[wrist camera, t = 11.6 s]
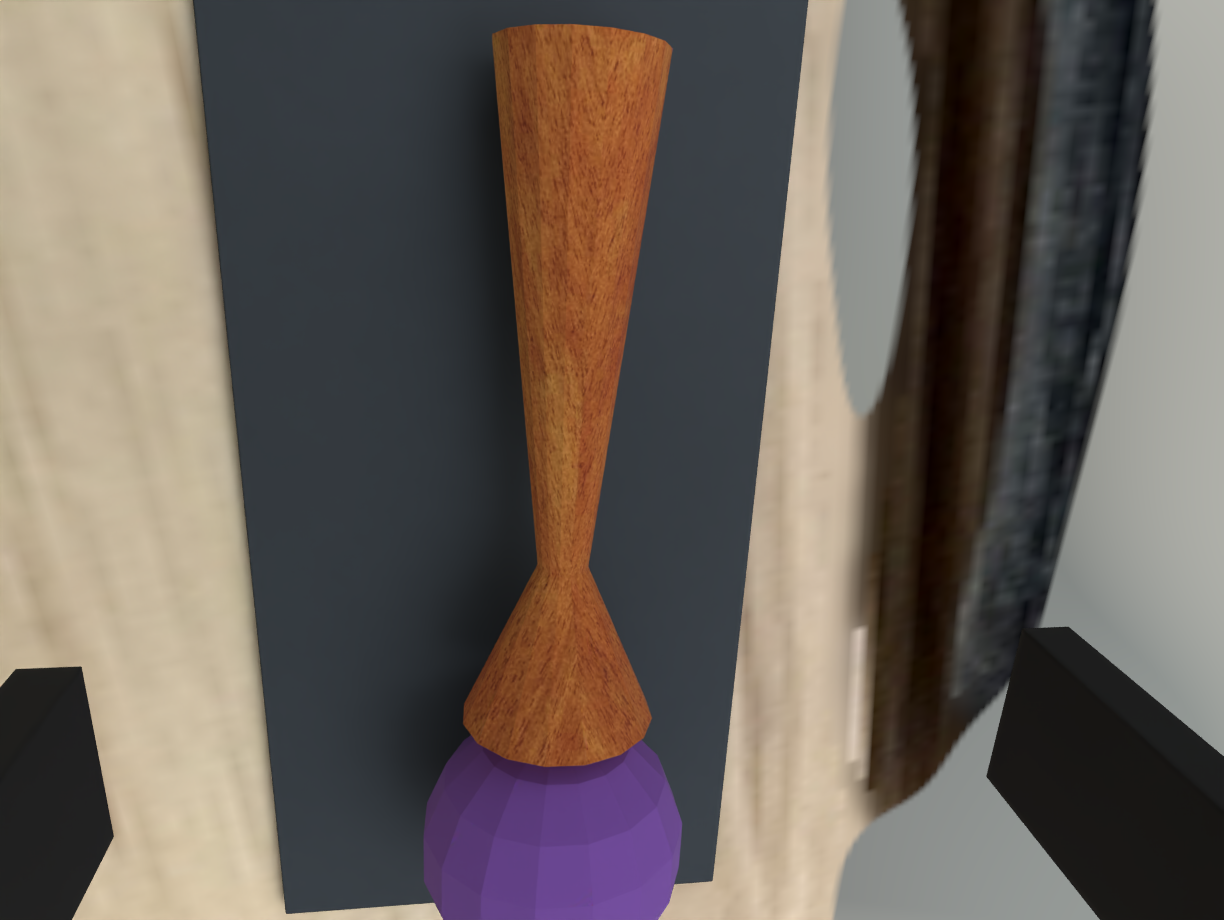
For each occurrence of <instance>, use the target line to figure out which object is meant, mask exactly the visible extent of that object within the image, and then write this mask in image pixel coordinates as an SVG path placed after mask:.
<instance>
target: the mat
mask: <svg viewBox="0 0 1224 920" xmlns="http://www.w3.org/2000/svg"><path fill="white" fill-rule="evenodd" d="M193 4H194V14H195V24H196V34H197V43H198V53H199V63H200V73H201V83H202V93H203V102H204V112H205V122H206V132H207V142H208V152H209V162H210V171H211V181H212V191H213V201H214V211H215V221H216V231H217V240H218V250H219V260H220V270H221V280H222V290H223V299H224V309H225V319H226V329H227V339H228V349H229V359H230V368H231V378H232V388H233V398H234V408H235V418H236V428H237V437H238V447H239V457H240V467H241V477H242V487H243V496H244V506H245V516H246V526H247V536H248V546H249V556H250V565H251V575H252V585H253V595H254V605H255V615H256V625H257V634H258V644H259V654H260V664H261V674H262V684H263V694H264V703H265V713H266V723H267V733H268V743H269V753H270V762H271V772H272V782H273V792H274V802H275V812H276V822H277V831H278V841H279V851H280V861H281V871H282V881H283V891H284V900H285V910H286V914H292V913H305V912H318V911H331V910H344V909H357V908H370V907H383V906H396V905H409V904H423V903H435V902H434V900H433V898H432V896H431V894H430V892H429V890H428V888H427V886H426V884H425V883H424V827H425V818H426V808H427V802H428V800H429V798H430V796H431V794H432V792H433V790H434V787H435V785H436V783H437V781H438V779H439V777H440V775H441V773H442V771H443V769H444V767H445V765H446V763H447V762H448V760H449V759H450V758H451V756H452V755H453V754H454V752H455V751H456V750H457V749H458V747H459V746H460V745H461V743H462V742H463V741H464V740H465V739H466V738H468V737H469V736H470V735H471V734H470V733H469V731H468V730H467V729H466V727H465V726H464V725H463V716H464V703H465V701H466V699H467V697H468V695H469V694H470V692H471V690H472V688H473V686H474V684H475V682H476V680H477V678H478V676H479V675H480V673H481V671H482V669H483V667H484V665H485V663H486V661H487V659H488V657H489V655H490V654H491V652H492V650H493V648H494V646H495V644H496V642H497V640H498V638H499V636H500V635H501V633H502V631H503V629H504V627H505V625H506V623H507V621H508V619H509V617H510V616H511V614H512V612H513V610H514V608H515V606H516V604H517V602H518V600H519V598H520V597H521V595H522V593H523V591H524V589H525V587H526V585H527V583H528V581H529V579H530V578H531V576H532V574H533V572H534V570H535V568H536V566H537V564H538V562H537V551H536V539H535V528H534V516H533V505H532V493H531V482H530V471H529V459H528V448H527V436H526V425H525V413H524V402H523V390H522V379H521V367H520V356H519V344H518V333H517V321H516V310H515V298H514V287H513V275H512V264H511V252H510V241H509V229H508V218H507V206H506V195H505V183H504V172H503V160H502V149H501V137H500V126H499V114H498V103H497V91H496V80H495V68H494V57H493V45H492V34H493V33H496V32H498V31H501V30H503V29H506V28H510V27H518V26H526V25H534V24H577V25H589V26H601V27H612V28H617V29H623V30H628V31H634V32H639V33H645V34H647V35H650V36H653V37H656V38H659V39H662V40H664V41H666V42H667V43H668V44H669V45H670V46H671V47H672V48H673V50H672V56H671V62H670V68H669V74H668V81H667V87H666V93H665V99H664V105H663V111H662V117H661V123H660V130H659V136H658V142H657V148H656V154H655V160H654V166H653V173H652V179H651V185H650V191H649V197H648V203H647V209H646V216H645V222H644V228H643V234H642V240H641V246H640V252H639V259H638V265H637V271H636V277H635V283H634V289H633V295H632V301H631V308H630V314H629V320H628V326H627V332H626V338H625V344H624V351H623V357H622V363H621V369H620V375H619V381H618V387H617V394H616V400H615V406H614V412H613V418H612V424H611V430H610V437H609V443H608V449H607V455H606V461H605V467H604V473H603V479H602V486H601V492H600V498H599V504H598V510H597V516H596V522H595V529H594V535H593V541H592V547H591V553H590V559H589V565H588V567H589V569H590V572H591V574H592V576H593V578H594V581H595V583H596V585H597V588H598V590H599V592H600V595H601V597H602V599H603V602H604V604H605V606H606V609H607V611H608V613H609V615H610V618H611V620H612V622H613V625H614V627H615V629H616V632H617V634H618V636H619V639H620V641H621V643H622V646H623V648H624V650H625V652H626V655H627V657H628V659H629V662H630V664H631V666H632V669H633V671H634V673H635V676H636V678H637V680H638V682H639V685H640V687H641V689H642V692H643V694H644V696H645V699H646V702H647V705H648V708H649V711H650V714H651V717H652V719H651V721H650V724H649V726H648V729H647V731H646V734H645V736H644V738H643V739H642V741H643V742H644V743H645V744H646V745H647V746H648V747H649V748H650V749H652V750H653V751H654V752H655V753H656V754H657V755H658V758H659V760H660V763H661V765H662V768H663V770H664V773H665V775H666V778H667V780H668V783H669V786H670V788H671V791H672V793H673V797H674V800H675V803H676V806H677V809H678V812H679V815H680V818H681V821H682V832H681V845H680V857H679V868H678V871H677V875H676V879H675V883H674V884H683V883H696V882H709V881H712V880H713V872H714V863H715V854H716V845H717V836H718V826H719V817H720V808H721V799H722V790H723V780H724V771H725V762H726V753H727V743H728V734H729V725H730V716H731V707H732V697H733V688H734V679H735V670H736V661H737V651H738V642H739V633H740V624H741V615H742V605H743V596H744V587H745V578H746V569H747V559H748V550H749V541H750V532H751V523H752V513H753V504H754V495H755V486H756V477H757V467H758V458H759V449H760V440H761V431H762V421H763V412H764V403H765V394H766V385H767V375H768V366H769V357H770V348H771V339H772V329H773V320H774V311H775V302H776V293H777V283H778V274H779V265H780V256H781V247H782V237H783V228H784V219H785V210H786V201H787V191H788V182H789V173H790V164H791V155H792V145H793V136H794V127H795V118H796V109H797V99H798V90H799V81H800V72H801V63H802V53H803V44H804V35H805V26H806V16H807V7H808V0H193Z"/></svg>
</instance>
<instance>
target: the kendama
mask: <svg viewBox="0 0 1224 920" xmlns="http://www.w3.org/2000/svg"><path fill="white" fill-rule="evenodd" d="M492 45H493V57H494V68H495V80H496V91H497V103H498V114H499V126H500V137H501V149H502V160H503V172H504V183H505V195H506V206H507V218H508V229H509V241H510V252H511V264H512V275H513V287H514V298H515V310H516V321H517V333H518V344H519V356H520V367H521V379H522V390H523V402H524V413H525V425H526V436H527V448H528V459H529V471H530V482H531V493H532V505H533V516H534V528H535V539H536V551H537V562H538V564H537V566H536V568H535V570H534V572H533V574H532V576H531V578H530V579H529V581H528V583H527V585H526V587H525V589H524V591H523V593H522V595H521V597H520V598H519V600H518V602H517V604H516V606H515V608H514V610H513V612H512V614H511V616H510V617H509V619H508V621H507V623H506V625H505V627H504V629H503V631H502V633H501V635H500V636H499V638H498V640H497V642H496V644H495V646H494V648H493V650H492V652H491V654H490V655H489V657H488V659H487V661H486V663H485V665H484V667H483V669H482V671H481V673H480V675H479V676H478V678H477V680H476V682H475V684H474V686H473V688H472V690H471V692H470V694H469V695H468V697H467V699H466V701H465V703H464V716H463V725H464V726H465V727H466V729H467V730H468V731H469V733H470V734H471V735H470V736H469V737H468V738H466V739H465V740H464V741H463V742H462V743H461V745H460V746H459V747H458V749H457V750H456V751H455V752H454V754H453V755H452V756H451V758H450V759H449V760H448V762H447V763H446V765H445V767H444V769H443V771H442V773H441V775H440V777H439V779H438V781H437V783H436V785H435V787H434V790H433V792H432V794H431V796H430V798H429V800H428V802H427V808H426V818H425V827H424V883H425V884H426V886H427V888H428V890H429V892H430V894H431V896H432V898H433V900H434V902H435V904H436V906H437V908H438V910H439V912H440V914H441V916H442V918H443V920H658V919H659V917H660V916H661V914H662V912H663V911H664V909H665V908H666V906H667V905H668V903H669V901H670V897H671V894H672V890H673V886H674V883H675V879H676V875H677V871H678V868H679V857H680V845H681V832H682V821H681V818H680V815H679V812H678V809H677V806H676V803H675V800H674V797H673V793H672V791H671V788H670V786H669V783H668V780H667V778H666V775H665V773H664V770H663V768H662V765H661V763H660V760H659V758H658V755H657V754H656V753H655V752H654V751H653V750H652V749H650V748H649V747H648V746H647V745H646V744H645V743H644V742H643V741H642V739H643V738H644V736H645V734H646V731H647V729H648V726H649V724H650V721H651V719H652V717H651V714H650V711H649V708H648V705H647V702H646V699H645V696H644V694H643V692H642V689H641V687H640V685H639V682H638V680H637V678H636V676H635V673H634V671H633V669H632V666H631V664H630V662H629V659H628V657H627V655H626V652H625V650H624V648H623V646H622V643H621V641H620V639H619V636H618V634H617V632H616V629H615V627H614V625H613V622H612V620H611V618H610V615H609V613H608V611H607V609H606V606H605V604H604V602H603V599H602V597H601V595H600V592H599V590H598V588H597V585H596V583H595V581H594V578H593V576H592V574H591V572H590V569H589V567H588V565H589V559H590V553H591V547H592V541H593V535H594V529H595V522H596V516H597V510H598V504H599V498H600V492H601V486H602V479H603V473H604V467H605V461H606V455H607V449H608V443H609V437H610V430H611V424H612V418H613V412H614V406H615V400H616V394H617V387H618V381H619V375H620V369H621V363H622V357H623V351H624V344H625V338H626V332H627V326H628V320H629V314H630V308H631V301H632V295H633V289H634V283H635V277H636V271H637V265H638V259H639V252H640V246H641V240H642V234H643V228H644V222H645V216H646V209H647V203H648V197H649V191H650V185H651V179H652V173H653V166H654V160H655V154H656V148H657V142H658V136H659V130H660V123H661V117H662V111H663V105H664V99H665V93H666V87H667V81H668V74H669V68H670V62H671V56H672V50H673V48H672V47H671V46H670V45H669V44H668V43H667V42H666V41H664V40H662V39H659V38H656V37H653V36H650V35H647V34H645V33H639V32H634V31H628V30H623V29H617V28H612V27H601V26H589V25H577V24H534V25H526V26H518V27H510V28H506V29H503V30H501V31H498V32H496V33H493V34H492Z"/></svg>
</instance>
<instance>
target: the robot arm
mask: <svg viewBox="0 0 1224 920" xmlns="http://www.w3.org/2000/svg"><path fill="white" fill-rule="evenodd" d="M987 778H988V779H989V780H990V782H991V783H992V784H993V785H994V787H995V788H996V789H997V790H998V792H999V793H1000V794H1001V796H1002V797H1003V798H1004V799H1005V801H1006V802H1007V803H1008V804H1009V806H1010V807H1011V808H1012V809H1013V811H1014V812H1015V813H1016V814H1017V816H1018V817H1019V818H1020V820H1021V821H1022V822H1023V823H1024V825H1025V826H1026V827H1027V828H1028V829H1029V831H1030V832H1031V833H1032V835H1033V836H1034V837H1035V838H1036V840H1037V841H1038V842H1039V843H1040V845H1041V846H1042V847H1043V848H1044V850H1045V851H1046V852H1047V854H1048V855H1049V856H1050V857H1051V859H1052V860H1053V861H1054V862H1055V864H1056V865H1057V866H1058V867H1059V869H1060V870H1061V871H1062V872H1063V874H1064V875H1065V876H1066V877H1067V879H1068V880H1069V881H1070V882H1071V884H1072V885H1073V886H1074V887H1075V889H1076V890H1077V891H1078V892H1079V894H1080V895H1081V896H1082V898H1083V899H1084V900H1085V901H1086V903H1087V904H1088V905H1089V906H1090V908H1091V909H1092V910H1093V911H1094V913H1095V914H1096V915H1097V916H1098V918H1099V919H1100V920H1224V756H1223V755H1221V754H1220V753H1219V752H1218V751H1217V750H1215V749H1214V748H1213V747H1212V746H1211V745H1209V744H1208V743H1207V742H1206V741H1204V740H1203V739H1202V738H1201V737H1200V736H1198V735H1197V734H1196V733H1195V732H1194V731H1193V730H1191V729H1190V728H1189V727H1188V726H1187V725H1185V724H1184V723H1183V722H1182V721H1181V720H1179V719H1178V718H1177V717H1176V716H1175V715H1173V714H1172V713H1171V712H1170V711H1169V710H1168V709H1166V708H1165V707H1164V706H1163V705H1162V704H1160V703H1159V702H1158V701H1157V700H1155V699H1154V698H1153V697H1152V696H1151V695H1149V694H1148V693H1147V692H1146V691H1145V690H1144V689H1142V688H1141V687H1140V686H1139V685H1137V684H1136V683H1135V682H1134V681H1133V680H1131V679H1130V678H1129V677H1128V676H1127V675H1126V674H1124V673H1123V672H1122V671H1121V670H1119V669H1118V668H1117V667H1116V666H1115V665H1114V664H1112V663H1111V662H1110V661H1109V660H1108V659H1106V658H1105V657H1104V656H1103V655H1102V654H1100V653H1099V652H1098V651H1097V650H1096V649H1094V648H1093V647H1092V646H1091V645H1090V644H1088V643H1087V642H1086V641H1085V640H1084V639H1082V638H1081V637H1080V636H1079V635H1078V634H1077V633H1075V632H1074V631H1073V630H1072V629H1071V628H1069V627H1051V628H1026V629H1022V633H1021V637H1020V641H1019V645H1018V649H1017V653H1016V657H1015V661H1014V666H1013V670H1012V674H1011V678H1010V682H1009V686H1008V690H1007V694H1006V699H1005V703H1004V707H1003V711H1002V715H1001V719H1000V723H999V727H998V731H997V735H996V740H995V743H994V748H993V752H992V756H991V760H990V764H989V768H988V773H987ZM113 837H114V835H113V830H112V824H111V819H110V814H109V809H108V803H107V798H106V793H105V788H104V782H103V777H102V772H101V767H100V761H99V756H98V751H97V746H96V740H95V735H94V730H93V725H92V719H91V714H90V709H89V704H88V698H87V693H86V688H85V683H84V677H83V672H82V667H58V668H33V669H15V671H14V672H13V673H12V674H11V675H10V677H9V678H8V679H7V680H6V681H5V683H4V684H3V685H2V686H1V687H0V920H72V918H73V916H74V914H75V912H76V910H77V908H78V906H79V905H80V903H81V901H82V899H83V897H84V895H85V893H86V891H87V889H88V887H89V885H90V883H91V881H92V879H93V877H94V875H95V873H96V871H97V869H98V867H99V865H100V863H101V861H102V859H103V857H104V855H105V853H106V851H107V849H108V847H109V845H110V843H111V841H112V839H113Z"/></svg>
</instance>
